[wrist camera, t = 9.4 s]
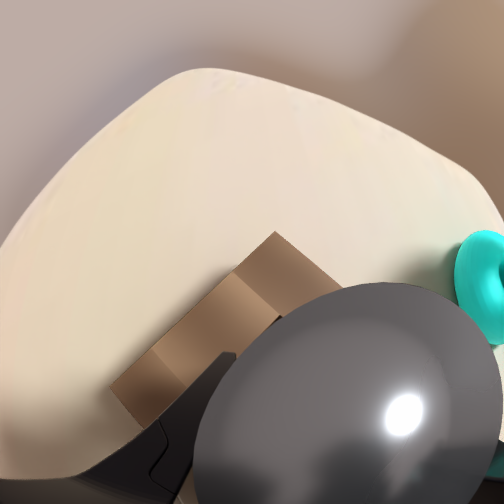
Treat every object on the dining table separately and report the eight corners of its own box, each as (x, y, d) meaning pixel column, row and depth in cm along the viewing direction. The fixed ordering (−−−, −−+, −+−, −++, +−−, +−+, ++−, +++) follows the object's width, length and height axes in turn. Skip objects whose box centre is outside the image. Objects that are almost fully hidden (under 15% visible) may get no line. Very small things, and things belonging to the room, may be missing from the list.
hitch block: (277, 509, 11) (283, 538, 8) (138, 386, 15) (109, 386, 11) (401, 375, 15) (435, 371, 12) (270, 260, 19) (274, 231, 15)
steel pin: (256, 438, 13) (274, 608, 1) (230, 374, 14) (137, 360, 3) (323, 410, 13) (515, 461, 2) (297, 348, 15) (441, 237, 3)
